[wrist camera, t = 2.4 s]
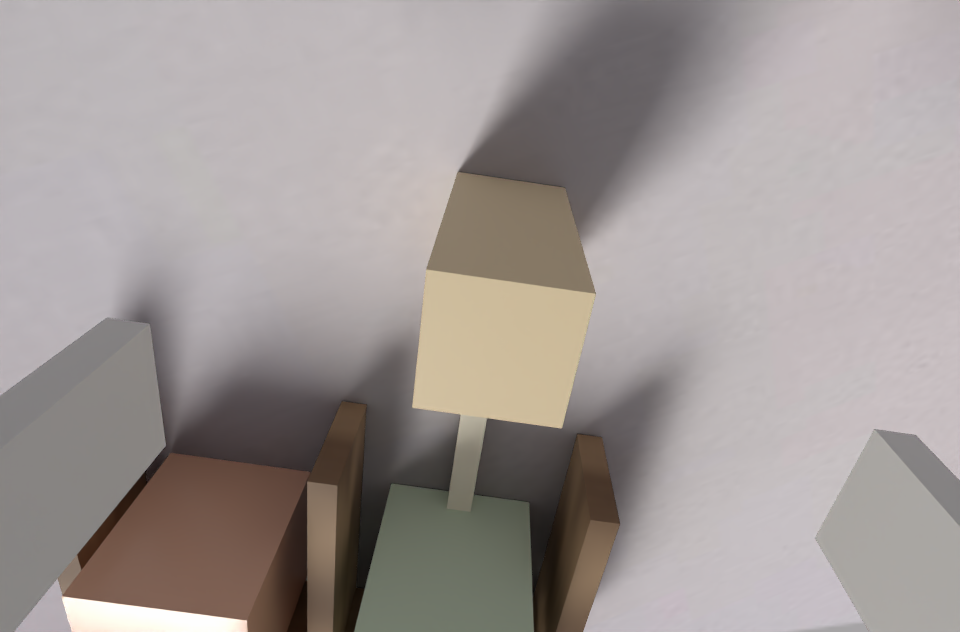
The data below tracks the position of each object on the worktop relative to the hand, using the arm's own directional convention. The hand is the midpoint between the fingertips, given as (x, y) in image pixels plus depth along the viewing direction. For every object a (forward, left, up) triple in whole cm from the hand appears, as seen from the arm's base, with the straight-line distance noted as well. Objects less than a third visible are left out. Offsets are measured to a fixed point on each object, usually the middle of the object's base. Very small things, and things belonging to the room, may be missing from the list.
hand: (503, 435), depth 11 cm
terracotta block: (+15, -10, -10) cm, 20 cm away
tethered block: (+8, 0, -10) cm, 13 cm away
